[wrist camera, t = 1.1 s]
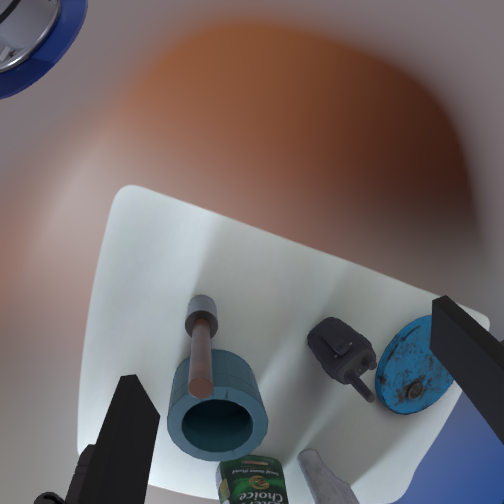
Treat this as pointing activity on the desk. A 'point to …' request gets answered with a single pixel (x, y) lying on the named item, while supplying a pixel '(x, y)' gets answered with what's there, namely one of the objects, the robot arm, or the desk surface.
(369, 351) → the two-way radio
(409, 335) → the desk lamp
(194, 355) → the rod with cylinder end
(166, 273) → the desk surface
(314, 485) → the hip flask
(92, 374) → the desk surface
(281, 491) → the coffee jar
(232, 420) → the teal pencil cup
